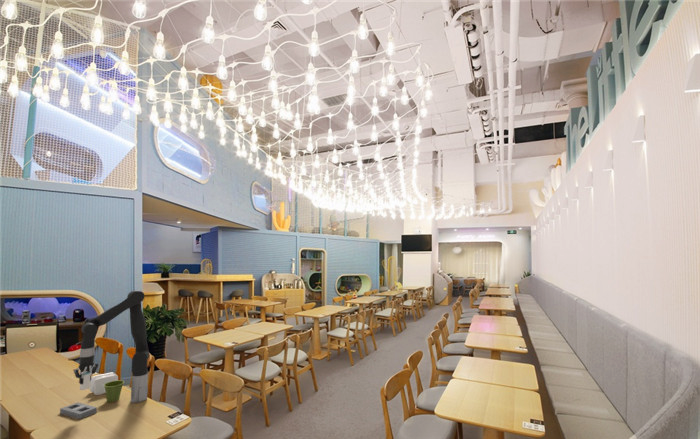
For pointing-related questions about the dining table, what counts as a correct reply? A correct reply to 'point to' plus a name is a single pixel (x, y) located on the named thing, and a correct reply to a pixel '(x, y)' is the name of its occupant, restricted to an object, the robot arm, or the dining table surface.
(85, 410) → the socket board
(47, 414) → the dining table surface
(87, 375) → the plug peg
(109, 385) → the plant pot
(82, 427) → the dining table surface
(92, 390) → the cable organizer
